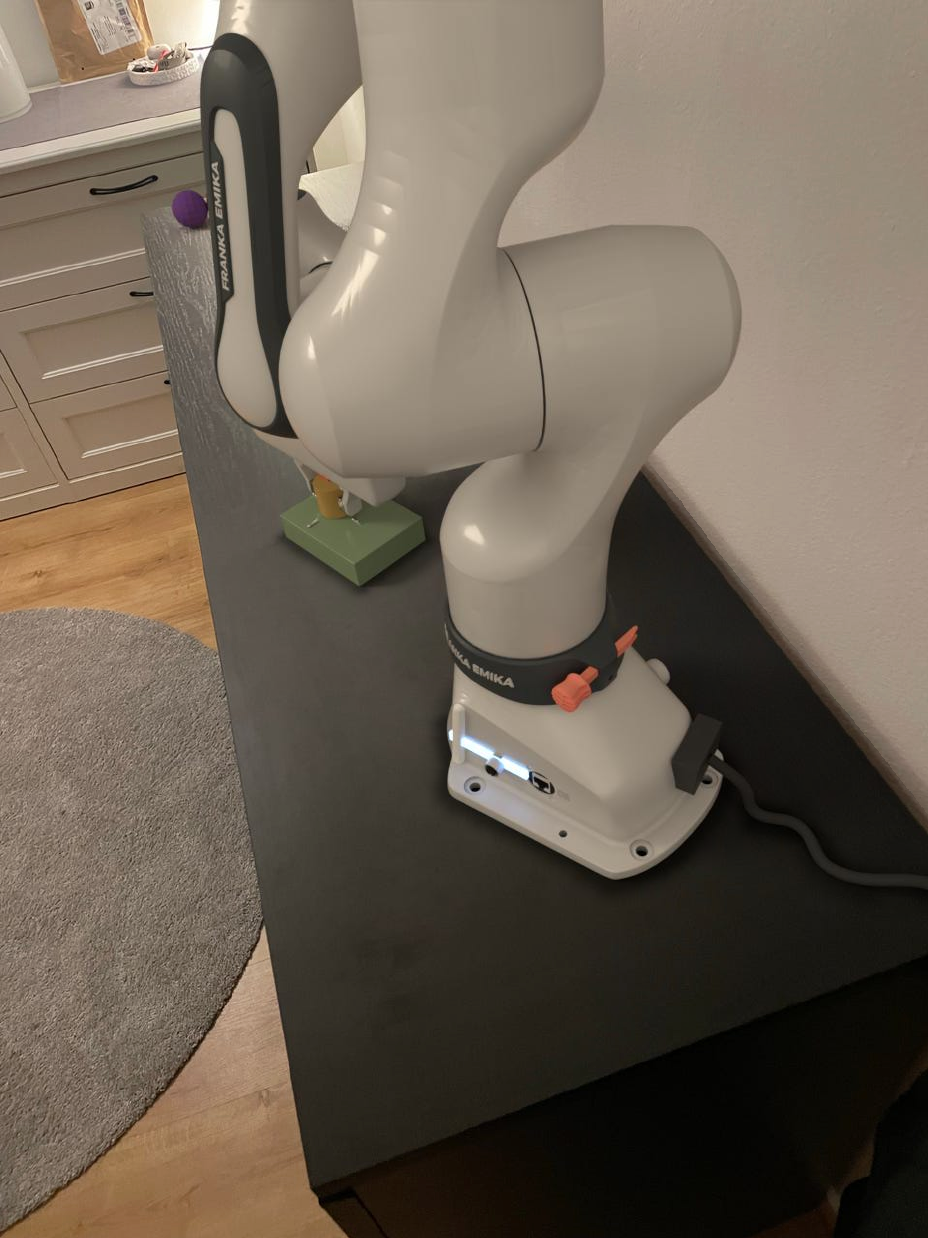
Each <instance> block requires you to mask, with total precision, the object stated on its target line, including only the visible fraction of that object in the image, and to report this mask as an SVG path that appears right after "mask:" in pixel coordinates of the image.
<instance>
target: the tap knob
mask: <svg viewBox="0 0 928 1238" xmlns="http://www.w3.org/2000/svg"><path fill="white" fill-rule="evenodd" d="M313 487H314V491H315V495H316V499H317V502H318V506H319V510H320V513H321V515H322V516H324V517H326V518H329V519H339V518H342V517H345V516H347V514H346V513H344V512H343V511H341V510H340V508H339V504H338V500H337V498H338V497H340V496H341V495H343V493H344V491H342V490H340V488H339V485H337V484H335V483H334V482H332V481H330V480H329V479H327V478H325V477H324V476H322V475H320V474H319V473H317V476H316V477H315V478H314V480H313Z"/></svg>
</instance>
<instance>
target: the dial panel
mask: <svg viewBox="0 0 928 1238" xmlns="http://www.w3.org/2000/svg"><path fill="white" fill-rule="evenodd" d="M361 503H362V509H361V510H360V511H359V512H358V513H356V514H354V515H353V516H349V515H347V516H345V517H342V518H339V519H329V518H326V517H324V516H322V515H321V513H320V510H319V506H318V502H317V499H316V495H315V494H314V493H312V492H311V495H309V496H307V497H306V498H304V499H303V500H301V501H300V502H298V503H297V504H295V505H293V506H292V507H290V508H288V509H287V510H286V511H284V512H282V513H280V514H279V517H280V522H281V524H282V528H283V530H284V535H285V537H286V538H287V539H288V540H290V541H292V542H293V543H294V544H295V545H297V546H299V547H300V548H302V549H303V550H305V551H307V552H308V553H309V554H310V555H312V556H314V558H316V559H318V560H320V562H323V563H324V564H326V565H327V566H329V567H330V568H331V569H333V570H334V571H336V572H337V573H339V574H340V575H342V576H343V577H344V578H346V579H347V580H349V581H351V582H352V583H353V584H355V585H356V586H357V587H361V586H363V585H364V584H366V583H367V582H368V581H370V580H371V579H372V578H374V577H376V576H377V575H379V574H380V573H382V572H383V571H384V570H386V569H387V568H388V567H390V566H391V565H392V564H394V563H395V562H397V561H398V560H400V559H402V557H404V556H405V555H407V554H408V553H409V552H411V551H412V550H413V549H415V548H416V547H418V546H420V544H422V543H423V542H425V541H426V540H427V539H426V534H425V527H424V519H423V517H422V516H420V515H419V514H417V513H415V512H414V511H412V510H410V509H408V508H407V507H405V506H403V505H402V504H400V503H398V502H396V501H394V500H393V499H391V500H390V501H388V502H386V503H385V504H383V505H381V506H379V507H375V506H372V505H371V504H369V503H368V502H366V501H364V500H363V499H361Z"/></svg>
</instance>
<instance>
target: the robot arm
mask: <svg viewBox="0 0 928 1238" xmlns="http://www.w3.org/2000/svg"><path fill="white" fill-rule="evenodd" d="M217 16H218V17H217V23H216V29H215V33H214V38H213V43H212V45H211V47H210V49H209V51H208V53H207V55H206V57H205V59H204V62H203V65H202V69H201V75H200V84H199V112H200V113H199V114H200V115H199V116H200V131H201V132H200V133H201V147H202V159H203V168H204V169H203V170H204V179H205V191H206V193H207V202H208V221H209V222H208V223H209V231H210V244H211V252H212V253H211V255H212V261H213V262H212V263H213V274H214V284H215V294H216V295H215V296H216V319H215V330H214V342H213V343H214V344H213V362H214V372H215V377H216V380H217V383H218V385H219V389H220V392H221V393H222V395H223V398H224V399H225V401H226V403H227V405H228V406H229V407H230V409H231V410H232V412H234V414H235V415H236V416H237V417H238V418H239V419H240V421H242V422H243V423H245V424H246V426H248V427H250V428H251V429H252V430H253V432H254V434H255V435H256V437H257V438H258V439H260V440H261V441H263V442H265V443H267V444H268V445H269V446H272V447H273V448H275V449H276V450H278V451H280V452H281V453H283V454H284V455H287V456H288V457H290V458H291V459H293V463H294V464H295V465H296V467H297V469H298V471H299V472H300V473H301V475H302V477H303V478H304V480H305V481H306V485H307V488H308V489H307V490H308V491H309V492H310V493H311V494H312V493H314V494H315V491H314V487H313V480H314V478H315V477H316V476H317V473H319V474H320V475H322V476H324V477H325V478H327V479H329V480H330V481H332V482H334V483H335V484H337V485H339V488H340V490H342V491H344V493H343V495H341V496H340V497H338V498H337V500H338V504H339V508H340V510H341V511H343V512H344V513H346V514H347V515H349V516H353V515H354V514H356V513H358V512H359V511H360V510H361V509H362V503H361V499H363V500H364V501H366V502H368V503H369V504H371V505H372V506H375V507H379V506H381V505H383V504H385V503H386V502H388V501H390V500H393V499H394V498H396V497H397V496H398V495H400V494H401V493H402V492H403V491H404V489H405V487H406V484H407V478H413V477H417V478H418V477H426V476H430V475H435V474H439V473H443V472H447V471H452V470H456V469H460V468H464V467H469V466H472V465H477V464H481V463H483V464H481V465H480V466H479V467H478V468H476V469H475V470H474V471H473V472H472V473H470V475H468V476H467V477H466V478H465V479H464V480H463V482H461V483H460V485H458V487H457V488H456V490H455V491H454V493H453V494H452V496H451V498H450V500H449V502H448V503H447V506H446V509H445V511H444V514H443V516H442V521H441V525H440V528H439V529H440V530H439V543H440V550H441V557H442V563H443V571H444V578H445V585H446V586H445V587H446V592H447V594H446V599H445V602H444V620H445V622H444V632H445V638H446V640H447V641H446V642H447V644H448V649H449V653H450V656H451V658H452V660H453V663H454V669H453V680H452V681H453V683H452V699H451V701H452V702H451V706H450V709H449V712H448V716H447V723H446V735H447V741H448V745H449V749H450V754H451V760H450V763H449V767H448V773H447V790H448V793H449V795H450V796H451V797H452V798H454V799H455V800H457V801H459V802H461V803H463V804H465V805H466V806H469V807H471V808H472V809H474V810H476V811H478V812H480V813H482V814H484V815H486V816H487V817H490V818H491V819H493V820H495V821H497V822H499V823H501V824H503V825H504V826H507V827H509V828H511V829H512V830H515V831H516V832H519V833H520V834H522V835H524V836H526V837H528V838H530V839H532V840H533V841H535V842H537V843H540V844H542V845H544V846H545V847H547V848H549V849H551V850H553V851H555V852H556V853H559V854H561V855H562V856H564V857H566V858H569V859H570V860H572V861H574V862H576V863H578V864H580V865H582V866H583V867H586V868H587V869H590V870H591V871H593V872H594V873H598V874H599V875H601V876H603V877H606V878H608V879H610V880H621V879H626V878H630V877H632V876H636V875H639V874H641V873H643V872H645V871H647V870H649V869H651V868H653V867H654V866H657V865H658V864H659V863H661V862H662V861H664V860H665V859H667V858H668V857H669V856H670V855H672V854H673V853H674V852H675V851H676V850H678V848H680V847H681V846H682V845H683V844H684V843H685V841H686V840H688V839H689V837H690V836H691V835H692V834H693V833H694V831H696V830H697V829H698V827H699V826H700V825H701V823H702V822H703V821H704V820H705V818H706V817H707V815H708V814H709V812H710V810H712V807H713V806H714V804H715V802H716V800H717V798H718V796H719V793H720V790H721V787H722V783H723V779H724V778H726V779H727V780H728V781H729V782H730V783H732V785H734V786H735V788H736V789H737V790H738V791H739V792H740V795H741V798H742V799H741V800H742V804H743V807H744V810H745V811H746V813H747V814H748V815H749V816H750V817H751V818H753V819H754V820H757V821H758V822H762V823H765V824H769V825H777V826H783V827H787V828H789V829H791V830H794V831H795V832H796V833H798V835H799V836H800V837H801V839H802V840H803V842H804V843H805V846H806V848H807V850H808V852H809V854H810V855H811V857H812V859H813V861H814V862H815V863H816V865H817V866H818V867H819V868H820V869H821V870H822V871H824V872H825V873H827V874H828V875H830V876H832V877H834V878H836V879H838V880H841V881H843V882H846V883H849V884H853V885H854V884H855V885H859V886H867V887H903V888H904V887H905V888H918V889H922V890H926V891H928V876H926V875H921V874H914V873H873V872H872V873H870V872H860V871H856V870H852V869H848V868H846V867H842V866H841V865H839V864H836V863H835V862H833V861H832V860H830V858H829V857H827V856H826V854H825V853H824V850H823V849H822V847H821V845H820V843H819V841H818V839H817V837H816V835H815V833H814V832H813V831H812V830H811V828H810V827H809V826H808V825H807V824H806V823H805V822H803V821H802V820H801V819H799V818H798V817H795V816H793V815H789V814H787V813H786V814H785V813H780V812H773V811H768V810H764V809H762V808H760V806H758V805H757V803H756V800H755V793H754V791H753V788H752V785H751V784H750V783H749V782H748V781H747V779H746V778H745V777H744V776H743V775H742V774H741V773H739V772H738V770H736V769H735V768H733V767H732V766H731V765H729V764H728V763H727V762H726V761H724V756H723V753H722V752H721V751H720V750H719V745H720V739H721V735H722V729H723V721H721V720H718V719H716V718H713V717H710V716H707V715H705V714H702V713H700V712H698V713H697V714H696V716H695V718H694V720H693V719H692V716H691V714H690V712H689V710H688V708H687V707H686V706H685V705H684V703H683V702H682V701H681V699H679V698H678V697H677V695H676V694H675V693H674V692H673V691H672V690H671V689H670V687H669V686H668V684H669V682H670V679H671V676H670V672H669V670H668V669H667V666H666V665H665V664H664V663H663V661H660V660H659V659H657V658H650V659H648V660H645V659H644V658H643V657H642V655H641V654H640V653H639V652H638V651H637V650H636V649H635V648H634V647H633V646H632V645H633V643H634V642H635V641H636V639H637V637H638V633H636V632H637V631H638V629H639V627H638V625H634V626H632V627H631V628H630V629H629V630H628V631H627V632H626V633H625V634H624V630H623V628H622V624H621V621H620V619H619V616H618V613H617V610H616V607H615V604H614V602H613V601H614V600H613V599H612V595H611V593H610V592H609V589H608V587H607V577H608V565H609V555H610V547H611V539H612V533H613V528H614V523H615V521H616V518H617V514H618V512H619V509H620V506H621V505H622V503H623V501H624V499H625V497H626V495H627V493H628V491H629V489H630V488H631V486H632V484H633V482H634V481H635V479H636V477H637V475H638V474H639V472H640V471H641V469H642V467H643V466H644V465H645V463H646V462H647V461H648V460H649V457H651V454H652V453H653V452H654V451H655V450H656V449H657V447H658V446H659V445H660V443H661V442H662V441H663V439H664V438H665V437H667V435H668V434H669V433H670V432H671V430H672V429H673V428H674V427H675V426H676V425H677V424H678V423H680V421H682V420H683V419H684V417H686V416H687V415H688V414H689V413H690V412H692V411H693V410H694V409H696V408H697V406H699V405H700V404H702V403H703V402H704V401H705V400H707V399H708V398H709V397H710V396H712V395H714V393H715V392H716V391H717V390H718V389H719V388H720V387H721V385H722V384H723V382H724V381H725V379H726V377H727V376H728V374H729V371H730V370H731V368H732V366H733V364H734V361H735V358H736V356H737V352H738V349H739V344H740V341H741V333H742V325H743V310H742V309H743V308H742V300H741V294H740V290H739V286H738V283H737V279H736V277H735V274H734V272H733V269H732V268H731V266H730V264H729V263H728V261H727V259H726V257H725V255H724V254H723V252H722V251H721V250H720V249H719V248H718V246H717V245H716V244H715V243H714V241H712V240H711V239H710V238H709V237H708V236H707V235H706V234H705V233H703V232H702V231H701V230H700V229H697V228H695V227H693V226H688V225H667V224H608V225H602V226H598V227H593V228H588V229H583V230H578V231H573V232H569V233H564V234H559V235H553V236H548V237H543V238H539V239H534V240H529V241H525V242H520V243H514V244H509V245H505V246H500V247H499V246H498V243H499V238H500V233H501V231H502V227H503V224H504V221H505V218H506V216H507V214H508V211H509V209H510V208H511V206H512V204H513V202H514V200H515V199H516V197H517V196H518V194H519V193H520V191H521V190H522V188H523V187H524V186H525V185H526V184H527V183H528V181H530V179H532V177H534V176H535V175H536V174H537V173H538V172H540V171H541V170H542V169H544V168H545V167H546V166H547V165H549V164H550V163H552V162H553V161H554V160H555V159H557V158H558V157H559V156H560V155H561V154H562V153H564V152H565V151H566V150H567V149H568V148H569V147H570V146H572V144H573V143H574V142H575V141H576V139H578V137H579V136H580V134H581V133H582V132H583V130H585V127H586V126H587V125H588V123H589V120H590V119H591V117H592V115H593V113H594V111H595V109H596V106H597V104H598V101H599V99H600V96H601V93H602V89H603V85H604V81H605V76H606V61H605V59H606V58H605V56H606V55H605V27H604V26H605V23H604V0H219V7H218V15H217ZM361 87H362V94H363V95H362V96H363V105H364V121H365V122H364V123H365V148H364V149H365V150H364V162H363V170H362V177H361V183H360V188H359V191H358V196H357V200H356V201H357V202H356V205H355V208H354V211H353V215H352V217H351V220H350V223H349V226H348V229H347V230H345V229H344V228H342V227H341V226H339V225H338V224H337V223H336V222H334V221H333V220H332V219H331V218H329V217H328V215H327V214H326V213H325V212H324V210H323V209H322V208H321V206H320V204H319V203H318V201H317V200H316V198H315V197H314V196H313V195H312V194H311V193H310V192H309V191H307V190H305V189H301V188H300V182H301V179H302V175H303V172H304V170H305V166H306V164H307V161H308V159H309V157H310V155H311V153H312V151H313V149H314V148H315V145H316V144H317V142H318V140H319V139H320V138H321V136H322V134H323V133H324V131H325V130H326V128H327V127H328V126H329V124H330V123H331V122H332V120H333V119H334V118H335V117H336V115H337V114H338V112H339V111H340V110H341V109H342V108H343V107H344V105H345V104H346V103H347V102H348V101H349V100H350V99H351V97H352V96H353V95H354V94H355V93H356V92H357V91H358V90H359V89H360V88H361ZM207 202H206V203H207ZM703 781H707V782H709V783H708V784H706V783H704V782H703ZM473 789H479V790H477V791H472V790H473ZM638 852H644V853H645V854H646V855H643V856H641V855H639V854H638Z"/></svg>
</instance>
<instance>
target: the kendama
mask: <svg viewBox="0 0 928 1238" xmlns="http://www.w3.org/2000/svg"><path fill="white" fill-rule="evenodd" d="M171 211H172V215H173V217H174V218H175V220H176V221H177V222H178V223H179V224H180V225H182V226H183V227H184V228H185V227H186V228H188V229H193V228H199V227H200V226H202V225H203V224H205V222H206V220H207V219H208V217H209V212H208V202H207V192H206V193H205V198H204V196H202V195H201V194H200V193H199V192H197V191H195V190H191V189H187V190H181V191H179V192H178V193H176V195H175V196H174V197H173V199H172V204H171Z"/></svg>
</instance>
